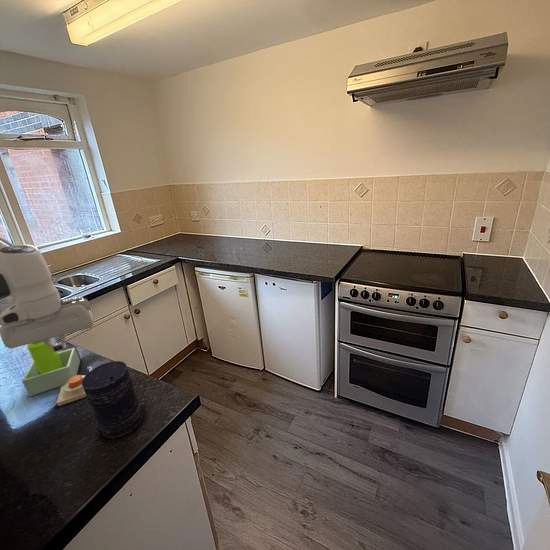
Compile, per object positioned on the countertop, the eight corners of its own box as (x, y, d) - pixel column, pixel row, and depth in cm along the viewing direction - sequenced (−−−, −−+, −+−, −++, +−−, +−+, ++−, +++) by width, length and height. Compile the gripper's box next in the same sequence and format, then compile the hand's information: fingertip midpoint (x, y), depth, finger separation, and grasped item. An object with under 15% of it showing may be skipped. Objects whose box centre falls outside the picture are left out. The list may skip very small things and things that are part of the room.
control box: (57, 406, 83) (53, 398, 82) (63, 389, 90) (59, 381, 89) (97, 392, 87) (94, 384, 86) (99, 376, 94) (96, 369, 93)
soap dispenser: (72, 370, 98) (49, 316, 91) (51, 384, 92) (24, 328, 85) (61, 367, 100) (37, 314, 93) (39, 380, 94) (12, 326, 87)
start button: (68, 389, 86) (66, 385, 85) (70, 382, 89) (68, 377, 88) (83, 385, 87) (81, 380, 86) (84, 377, 90) (82, 373, 89)
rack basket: (29, 396, 89) (21, 381, 87) (39, 373, 99) (32, 359, 97) (75, 381, 93) (68, 366, 91) (80, 361, 103) (74, 347, 101)
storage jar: (93, 428, 75) (72, 381, 69) (128, 401, 82) (112, 356, 77) (116, 444, 70) (95, 394, 64) (151, 414, 77) (135, 367, 72)
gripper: (87, 291, 85) (102, 333, 90) (-2, 311, 77) (19, 355, 82) (84, 299, 80) (100, 343, 84) (-12, 321, 72) (12, 368, 77)
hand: (59, 349), depth 83 cm, fingers closed
